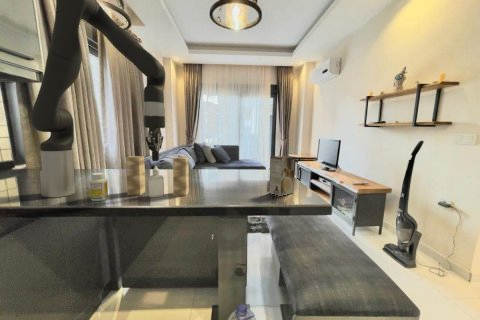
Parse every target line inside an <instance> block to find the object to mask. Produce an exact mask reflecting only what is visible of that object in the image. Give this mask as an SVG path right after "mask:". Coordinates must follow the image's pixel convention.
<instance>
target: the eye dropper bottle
mask: <svg viewBox="0 0 480 320" xmlns="http://www.w3.org/2000/svg"><path fill="white" fill-rule="evenodd" d="M164 178H165V177H164V176H163V175H161V174H160V169H159V168H158V165H155V166H154V167H153V169H152V175H150V176H148V180H147V181H148V184H147V185H148V197H149V198H159V197H164V196H165V187H164V186H165V183H164V182H165V180H164Z"/></svg>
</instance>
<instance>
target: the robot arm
mask: <svg viewBox="0 0 480 320" xmlns="http://www.w3.org/2000/svg"><path fill="white" fill-rule="evenodd" d="M81 20H83V21H84V22H86V23H87V24H89V25H90V26H92V27H94V28H95V29H96V30H97V31H99V32H100V33H101V34H102V35H103V36H104V37H105V38H106V40H108V41H109V43H111V46H113V47H114V48H115V49H116V50H117V51H118V52H119V53H120V54H121V55H122V56H124V58H125V59H127V60H128V61H129V62H131V63H132V64H133V65H134V66H135V67H136V68H137V69H138V70H139V71H140V73H142V74H143V75H144V76H145V77H146V86H145V87H144V88H143V127H144V128H145V129H147V128H148V133H147V136H146V137H145V142H146V144H147V147H148V150H149V151H151V160H152V162H159V160H160V151H161V149H162V147H163V142H164V141H163V140H164V136H163V135H162V130H161V129H165V128H166V107H165V93H164V91H165V83H166V71H165V67H164V65H162V63H161V62H160V61H159V60H158V59H157V58H156V57H155V56H153V54H151V52H149V51H147V50H146V49H145V48H144V47H143V45H141V43H139V42H138V41H137V40H136V39H135V38H134V37H133V36H132V35H131V34H130V33H128V32H127V31H126V30H125V28H122V27H121V26H120V25H118V24H117V23H116V22H115V20H113V19H112V18H111V17H110V15H109V14H108V13H107V12H106V10H105V9H103V7H102V6H101V4H99V2H98V1H97V0H56V4H55V15H54V25H53V28H52V29H53V30H52V34H51V40H50V44H49V48H48V53H47V58H46V61H45V67H44V73H43V77H42V80H41V84H40V88H39V91H38V94H37V96H36V99H35V102H34V104H33V107H32V110H31V115H30V122H31V125H32V126H33V128H34V129H35V130H37V131H38V132H41V133H50V136H49V137H48V138H47V139H46V140H44V141H43V142H41V143H40V144H39V149H40V158H41V159H40V160H41V170H40V171H39V181H40V192H41V196H42V197H45V198H62V197H66V196H71V195H74V194H75V193H76V189H75V188H76V186H75V173H74V172H75V171H74V157H73V144H74V141H75V128H74V127H75V125H74V118H73V115H72V114H71V112H70V111H69V110H68V109H66V108H63V107H62V108H61V107H59V106H60V105H59V104H60V101H61V99H62V96H63V95H64V93H65V92H66V91H67V90H68V89H69V88H70V87H71V86H72V85H74V83H75V82H76V81H77V79H78V77H79V74H80V70H81V67H82V61H83V54H82V48H81V44H80V37H79V32H80V31H79V29H80V23H81Z"/></svg>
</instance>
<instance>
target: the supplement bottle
mask: <svg viewBox="0 0 480 320" xmlns="http://www.w3.org/2000/svg"><path fill="white" fill-rule="evenodd" d="M91 178H92V179H91V180H90V181H89V186H90V189H89V190H90V200H91V201H93V202H101V201H106V200H107V199H108V198H109V191H108V189H109V186H108V179H107V178H106V173H105V172H93V173H91Z"/></svg>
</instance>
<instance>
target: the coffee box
mask: <svg viewBox="0 0 480 320" xmlns="http://www.w3.org/2000/svg"><path fill="white" fill-rule="evenodd" d="M269 161H270V165H269V166H270V167H269V169H270V171H269V193H271V194H270V195H272V194H275V195H274V196H276V195H278V196H277V197H279V196H282V197H284V196H283V195H286V196H288V195H287V194H289V195H291V194H290V193H293V194H294V188H295V167H296V156H290V155H276V156H270V160H269ZM269 193H268V194H269Z"/></svg>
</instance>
